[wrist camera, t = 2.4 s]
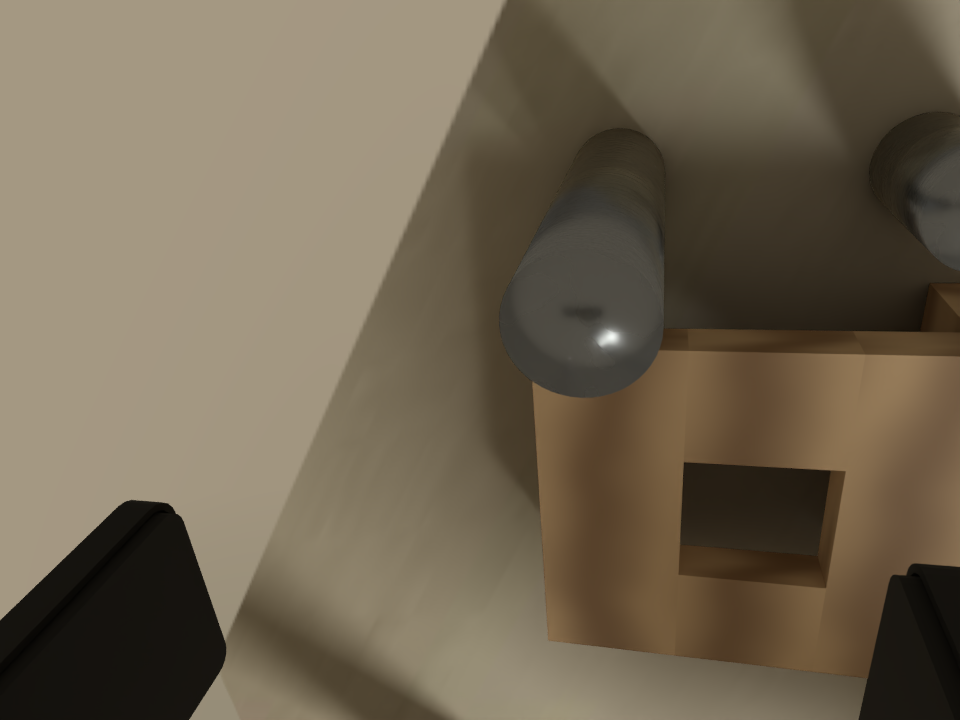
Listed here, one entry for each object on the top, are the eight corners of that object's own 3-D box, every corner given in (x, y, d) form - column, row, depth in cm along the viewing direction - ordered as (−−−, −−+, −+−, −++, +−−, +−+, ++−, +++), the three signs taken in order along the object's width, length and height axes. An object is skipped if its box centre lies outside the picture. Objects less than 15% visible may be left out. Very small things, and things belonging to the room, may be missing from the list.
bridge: (983, 283, 30) (1063, 358, 24) (914, 574, 37) (962, 689, 31) (554, 283, 34) (530, 347, 28) (565, 544, 41) (548, 640, 35)
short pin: (994, 109, 27) (1088, 144, 21) (971, 212, 29) (1051, 273, 23) (877, 115, 28) (935, 151, 22) (862, 215, 30) (911, 273, 24)
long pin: (666, 125, 30) (666, 247, 16) (663, 219, 32) (661, 400, 18) (570, 131, 31) (492, 249, 17) (573, 221, 33) (505, 395, 19)
